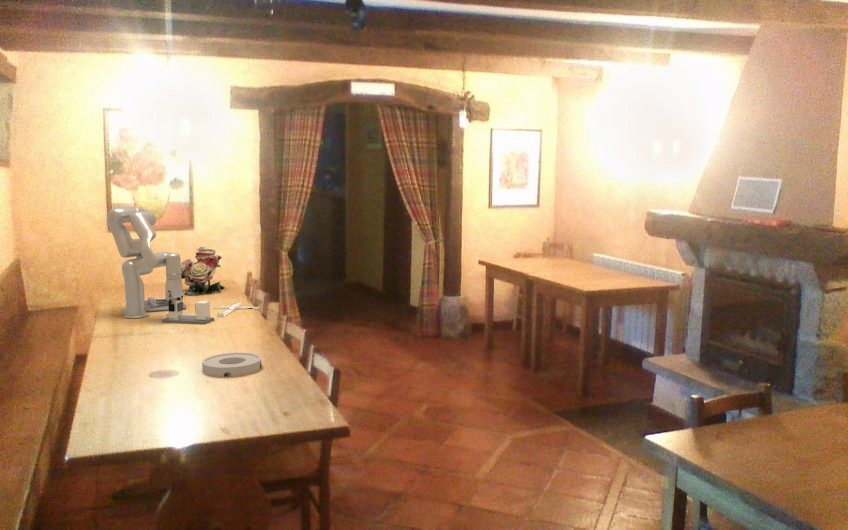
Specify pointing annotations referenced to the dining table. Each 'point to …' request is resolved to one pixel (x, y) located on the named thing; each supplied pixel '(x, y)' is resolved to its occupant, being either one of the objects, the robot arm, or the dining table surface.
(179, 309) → the cream rectangular block
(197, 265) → the rose bouquet
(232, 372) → the ashtray
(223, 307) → the articulated figure
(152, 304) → the grey tray
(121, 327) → the dining table surface
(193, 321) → the rail board
